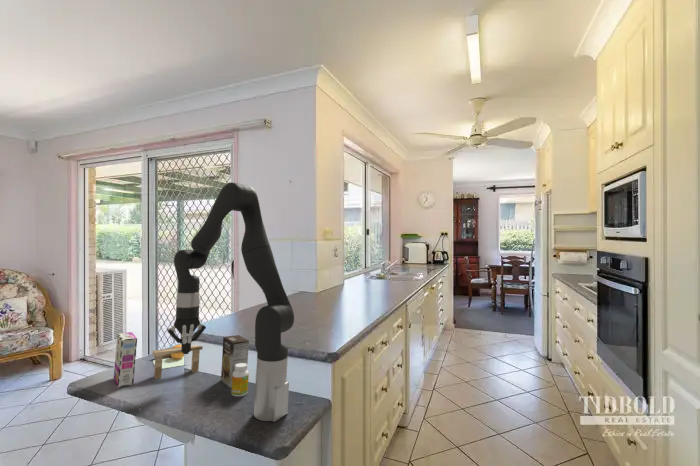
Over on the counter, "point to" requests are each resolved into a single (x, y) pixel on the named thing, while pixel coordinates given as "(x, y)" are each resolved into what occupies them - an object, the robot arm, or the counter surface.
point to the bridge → (160, 353)
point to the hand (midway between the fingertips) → (185, 353)
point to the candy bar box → (125, 359)
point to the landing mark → (171, 362)
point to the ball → (177, 355)
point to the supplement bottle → (240, 380)
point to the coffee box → (233, 356)
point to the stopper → (166, 356)
